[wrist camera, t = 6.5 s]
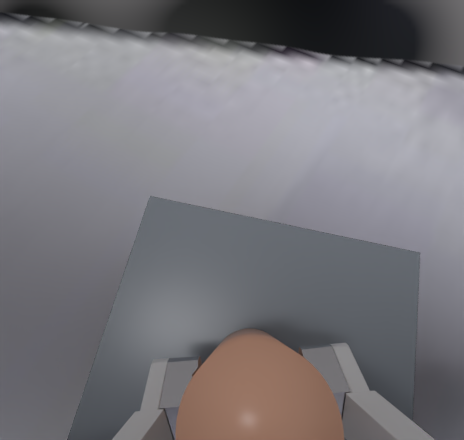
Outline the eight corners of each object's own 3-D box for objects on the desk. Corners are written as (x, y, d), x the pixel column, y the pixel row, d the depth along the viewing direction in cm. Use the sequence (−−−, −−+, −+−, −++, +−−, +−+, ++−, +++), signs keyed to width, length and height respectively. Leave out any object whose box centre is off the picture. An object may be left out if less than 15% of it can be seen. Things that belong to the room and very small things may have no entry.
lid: (77, 477, 13) (-257, 803, 4) (162, 212, 17) (75, 98, 8) (371, 571, 12) (743, 1307, 3) (393, 262, 16) (590, 191, 7)
